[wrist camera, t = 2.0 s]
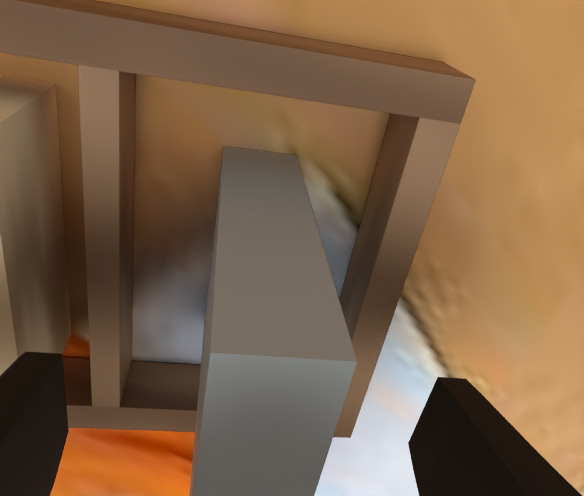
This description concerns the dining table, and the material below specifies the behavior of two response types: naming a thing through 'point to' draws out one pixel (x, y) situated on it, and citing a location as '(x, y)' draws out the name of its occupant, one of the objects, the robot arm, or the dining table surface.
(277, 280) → the grey rectangular block
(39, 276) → the birch offcut
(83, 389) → the walnut rack
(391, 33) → the dining table surface
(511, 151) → the dining table surface
